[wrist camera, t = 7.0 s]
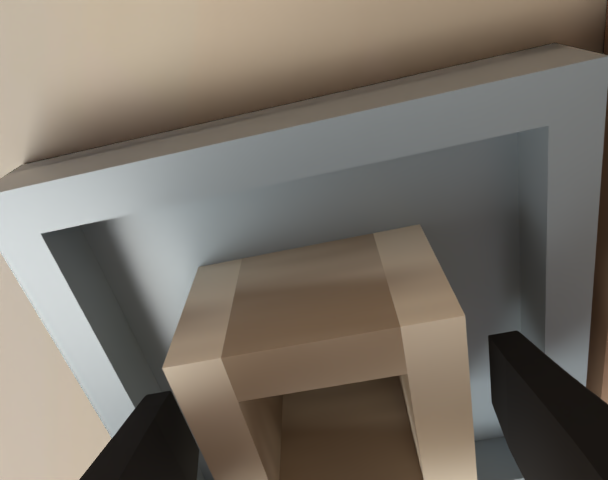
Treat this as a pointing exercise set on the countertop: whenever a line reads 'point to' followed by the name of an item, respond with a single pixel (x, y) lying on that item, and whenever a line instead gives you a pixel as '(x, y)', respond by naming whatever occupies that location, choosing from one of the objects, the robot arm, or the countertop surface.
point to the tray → (329, 216)
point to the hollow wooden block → (327, 364)
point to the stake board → (600, 281)
